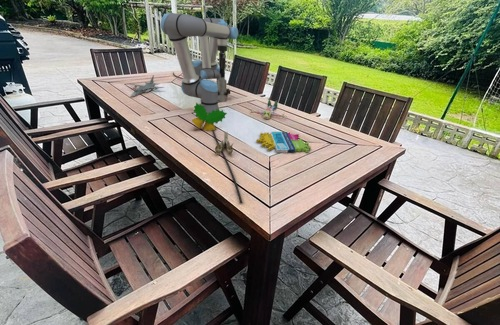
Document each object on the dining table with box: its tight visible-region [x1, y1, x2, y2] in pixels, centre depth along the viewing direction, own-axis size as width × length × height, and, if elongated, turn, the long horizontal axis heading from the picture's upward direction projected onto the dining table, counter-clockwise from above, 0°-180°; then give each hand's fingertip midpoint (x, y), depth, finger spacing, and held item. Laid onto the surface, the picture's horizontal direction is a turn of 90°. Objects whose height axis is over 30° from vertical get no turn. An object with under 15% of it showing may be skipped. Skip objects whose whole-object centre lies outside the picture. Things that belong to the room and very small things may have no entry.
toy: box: [249, 99, 287, 120], centre depth 196 cm, size 28×7×30 cm
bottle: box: [216, 77, 227, 103], centre depth 215 cm, size 7×7×21 cm
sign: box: [256, 131, 312, 154], centre depth 152 cm, size 26×2×30 cm
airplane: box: [129, 74, 165, 98], centre depth 227 cm, size 38×31×10 cm
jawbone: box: [214, 131, 234, 156], centre depth 136 cm, size 9×15×10 cm
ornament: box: [191, 102, 228, 132], centre depth 162 cm, size 21×8×15 cm, turn 105°
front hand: (222, 76), depth 210 cm, fingers closed on cap, 4 cm apart
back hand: (222, 94), depth 212 cm, fingers closed on bottle, 7 cm apart
